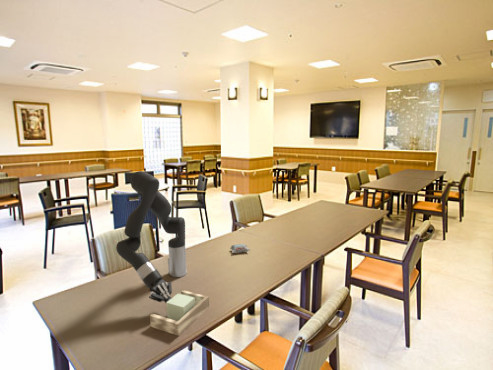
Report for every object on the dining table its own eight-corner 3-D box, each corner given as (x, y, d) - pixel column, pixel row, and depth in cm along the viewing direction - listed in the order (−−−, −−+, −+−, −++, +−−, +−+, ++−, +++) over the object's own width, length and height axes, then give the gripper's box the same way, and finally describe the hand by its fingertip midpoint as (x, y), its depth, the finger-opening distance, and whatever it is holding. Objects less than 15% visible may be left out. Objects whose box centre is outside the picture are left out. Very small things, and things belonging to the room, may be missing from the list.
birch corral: (150, 326, 121) (149, 315, 120) (183, 299, 141) (183, 290, 140) (179, 336, 115) (178, 324, 114) (209, 306, 135) (208, 296, 134)
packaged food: (249, 253, 196) (249, 246, 195) (232, 255, 193) (231, 248, 192) (246, 249, 204) (246, 242, 203) (229, 250, 201) (229, 243, 201)
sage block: (167, 319, 126) (166, 302, 125) (179, 309, 133) (178, 293, 132) (184, 325, 122) (183, 307, 121) (195, 314, 129) (194, 297, 128)
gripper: (142, 276, 125) (166, 309, 122) (163, 264, 137) (186, 294, 134) (134, 285, 128) (157, 318, 125) (155, 272, 140) (177, 302, 137)
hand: (172, 305), depth 129 cm, fingers closed
